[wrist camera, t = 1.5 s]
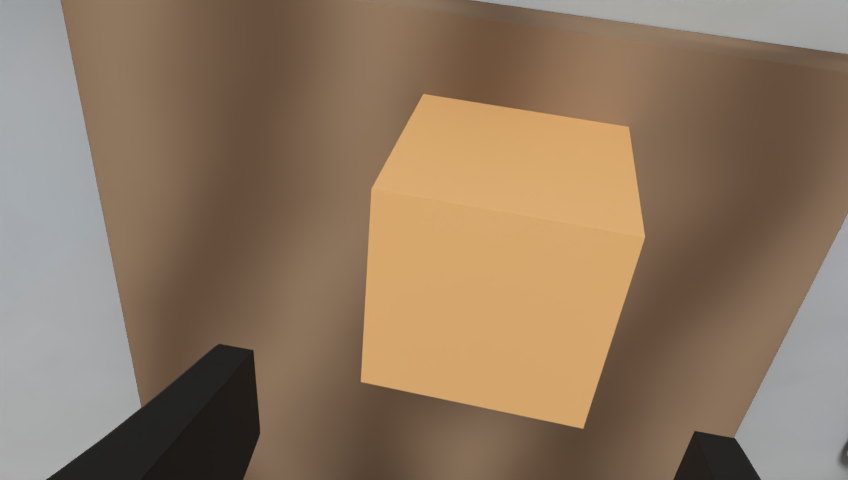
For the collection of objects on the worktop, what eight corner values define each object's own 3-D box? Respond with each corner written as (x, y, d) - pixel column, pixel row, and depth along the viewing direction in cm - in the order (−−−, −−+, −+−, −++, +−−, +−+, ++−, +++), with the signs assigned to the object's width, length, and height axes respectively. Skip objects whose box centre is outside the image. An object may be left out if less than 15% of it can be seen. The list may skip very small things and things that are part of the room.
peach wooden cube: (629, 126, 16) (644, 237, 12) (582, 292, 19) (583, 429, 15) (423, 93, 17) (371, 189, 13) (407, 259, 20) (361, 381, 15)
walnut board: (887, 60, 16) (914, 82, 14) (619, 623, 29) (620, 659, 28) (88, -55, 18) (52, -45, 17) (185, 519, 32) (169, 548, 30)
